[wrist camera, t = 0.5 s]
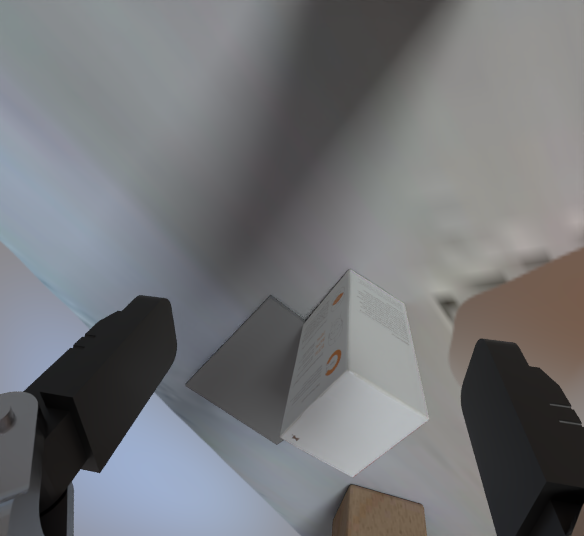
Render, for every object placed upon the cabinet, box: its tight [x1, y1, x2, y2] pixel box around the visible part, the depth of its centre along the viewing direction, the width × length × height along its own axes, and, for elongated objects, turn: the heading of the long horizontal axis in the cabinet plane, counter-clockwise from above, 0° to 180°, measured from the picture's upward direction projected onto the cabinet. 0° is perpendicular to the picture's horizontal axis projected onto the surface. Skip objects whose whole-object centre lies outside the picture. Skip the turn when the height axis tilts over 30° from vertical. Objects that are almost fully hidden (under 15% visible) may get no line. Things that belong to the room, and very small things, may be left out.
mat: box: [185, 295, 306, 445], centre depth 42 cm, size 18×14×1 cm
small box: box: [280, 269, 429, 477], centre depth 29 cm, size 8×6×13 cm
